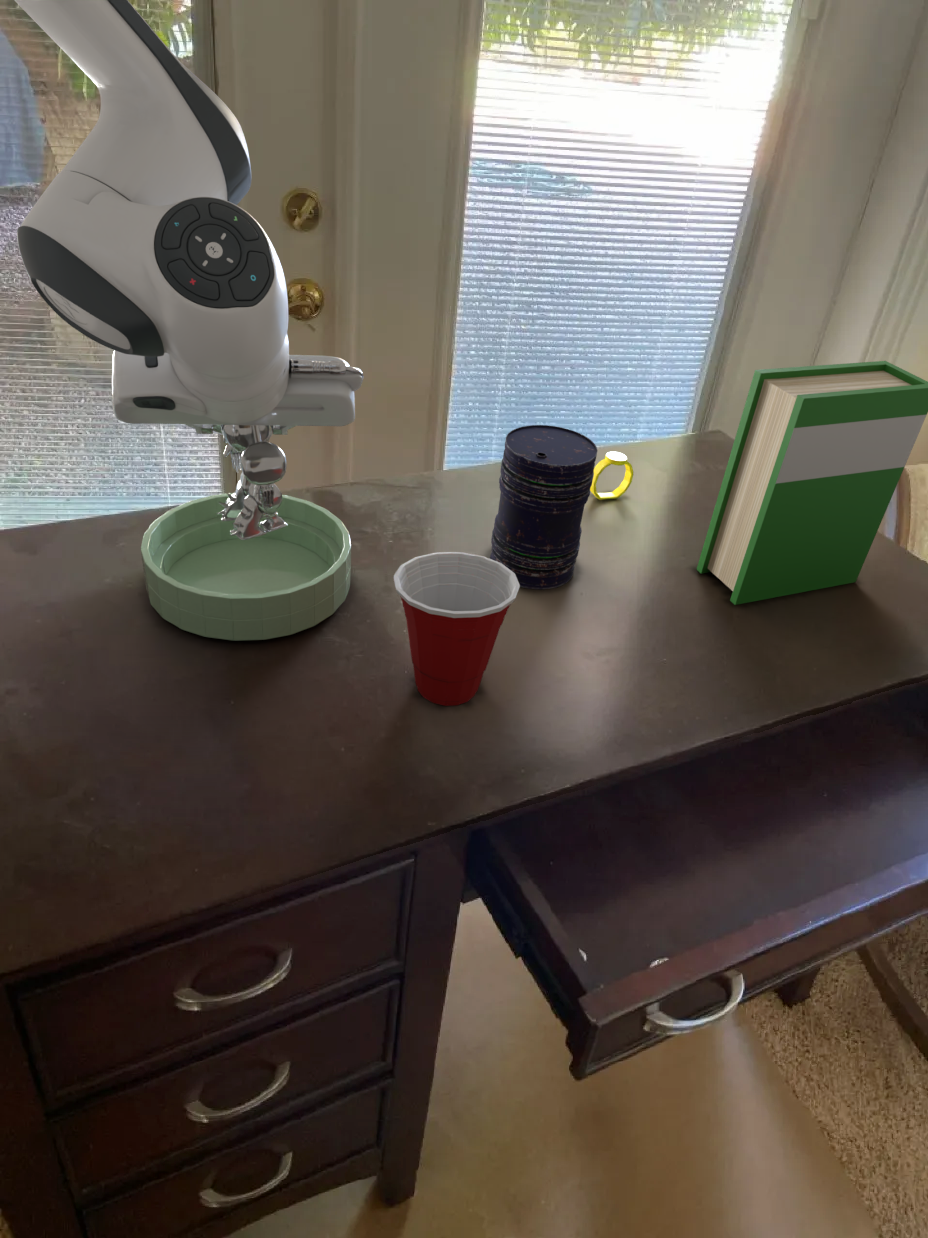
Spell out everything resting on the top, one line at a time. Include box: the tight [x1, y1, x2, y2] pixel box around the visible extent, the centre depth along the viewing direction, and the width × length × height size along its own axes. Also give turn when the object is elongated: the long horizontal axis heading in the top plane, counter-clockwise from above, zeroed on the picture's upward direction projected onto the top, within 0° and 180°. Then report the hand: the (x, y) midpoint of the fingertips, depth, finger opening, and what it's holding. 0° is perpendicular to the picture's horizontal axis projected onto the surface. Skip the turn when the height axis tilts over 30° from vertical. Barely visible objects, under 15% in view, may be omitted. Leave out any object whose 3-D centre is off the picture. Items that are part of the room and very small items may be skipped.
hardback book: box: [696, 360, 928, 606], centre depth 97 cm, size 18×7×24 cm, turn 113°
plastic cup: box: [393, 551, 521, 707], centre depth 79 cm, size 11×11×12 cm
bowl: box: [140, 492, 352, 642], centre depth 91 cm, size 20×20×6 cm
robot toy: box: [212, 425, 288, 540], centre depth 83 cm, size 15×6×15 cm, turn 29°
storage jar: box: [489, 424, 598, 590], centre depth 96 cm, size 10×10×15 cm
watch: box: [590, 451, 635, 501], centre depth 114 cm, size 6×3×6 cm, turn 115°
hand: (242, 426), depth 83 cm, fingers closed on robot toy, 5 cm apart
